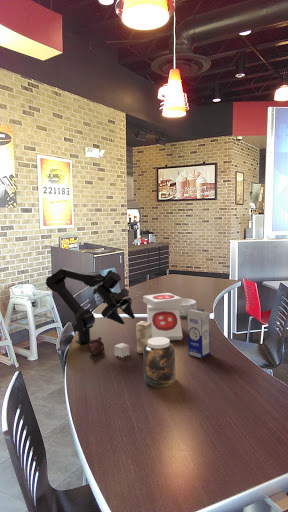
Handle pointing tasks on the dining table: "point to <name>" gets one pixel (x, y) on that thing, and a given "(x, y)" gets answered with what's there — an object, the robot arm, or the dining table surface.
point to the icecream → (96, 346)
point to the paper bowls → (186, 306)
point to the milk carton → (198, 333)
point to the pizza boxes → (164, 315)
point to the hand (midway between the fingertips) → (129, 321)
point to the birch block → (143, 334)
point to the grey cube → (121, 350)
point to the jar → (159, 362)
